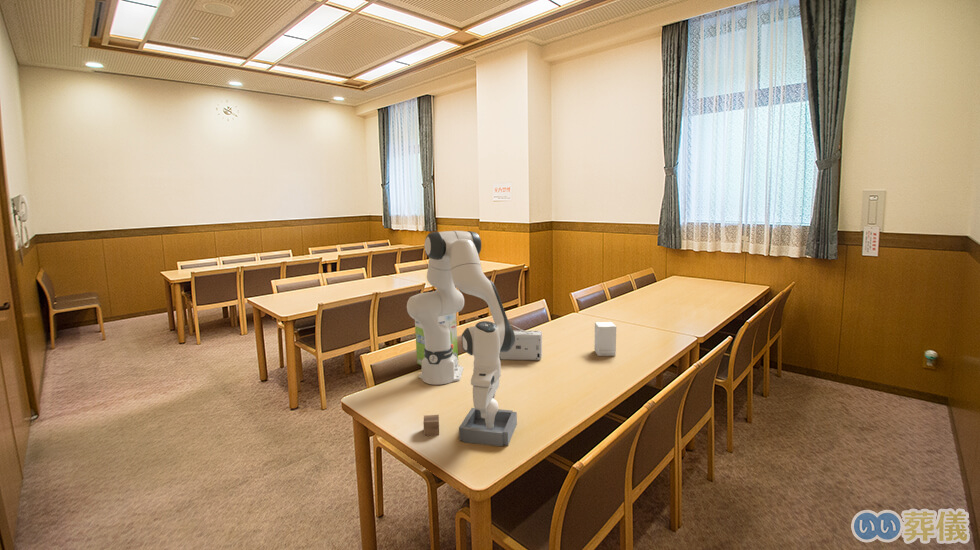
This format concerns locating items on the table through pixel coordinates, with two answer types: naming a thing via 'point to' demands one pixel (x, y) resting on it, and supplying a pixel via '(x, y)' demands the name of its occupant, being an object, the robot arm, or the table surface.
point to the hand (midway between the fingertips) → (487, 410)
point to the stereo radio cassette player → (525, 346)
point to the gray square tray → (478, 433)
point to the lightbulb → (491, 413)
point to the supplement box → (605, 339)
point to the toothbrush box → (420, 341)
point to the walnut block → (431, 425)
